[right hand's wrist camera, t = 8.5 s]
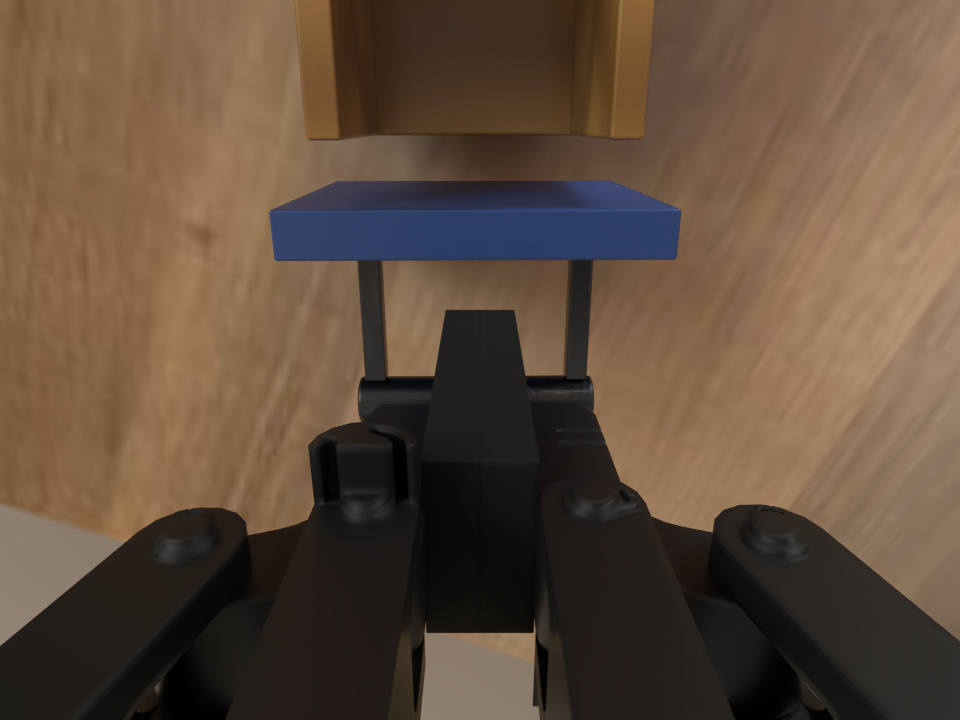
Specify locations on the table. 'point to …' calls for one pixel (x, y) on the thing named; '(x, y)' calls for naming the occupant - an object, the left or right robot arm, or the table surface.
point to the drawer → (474, 111)
